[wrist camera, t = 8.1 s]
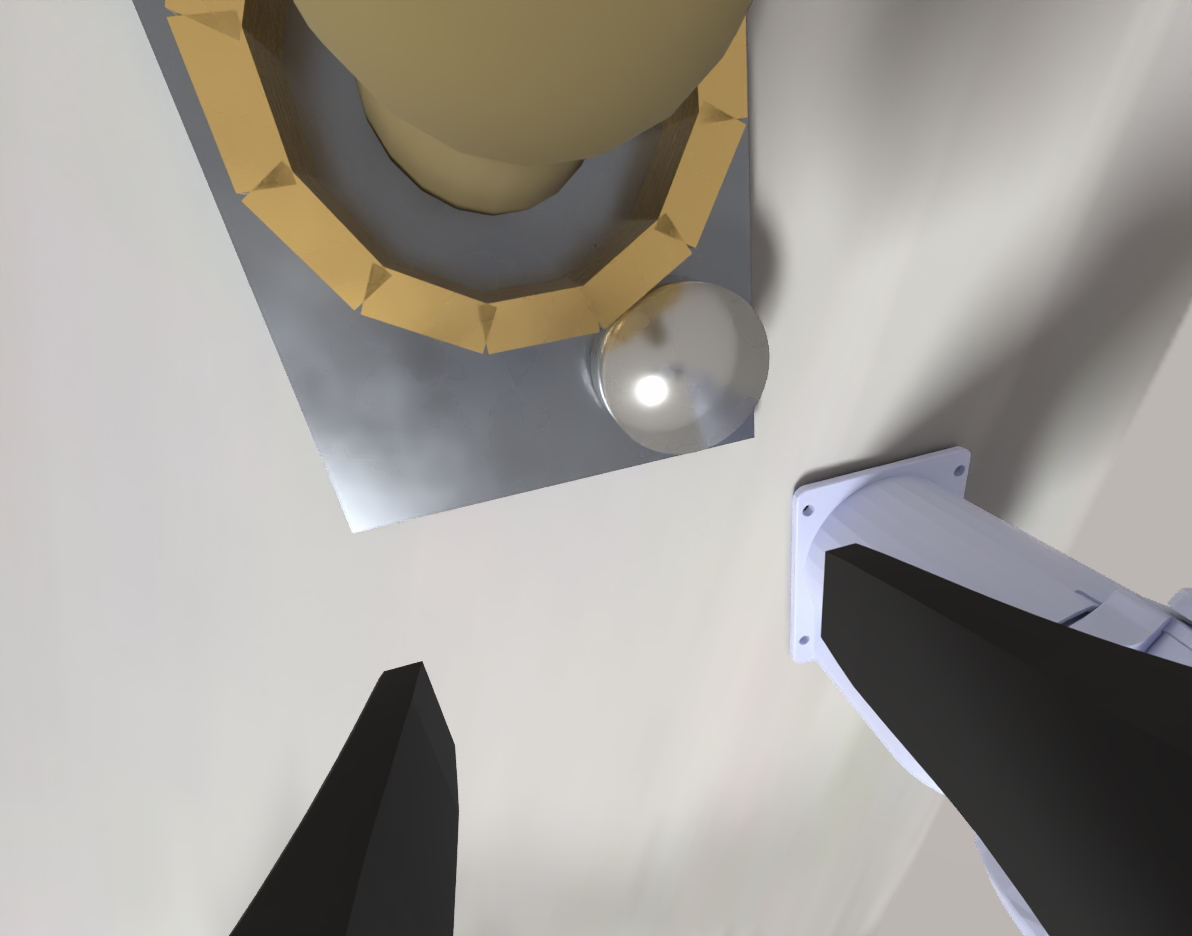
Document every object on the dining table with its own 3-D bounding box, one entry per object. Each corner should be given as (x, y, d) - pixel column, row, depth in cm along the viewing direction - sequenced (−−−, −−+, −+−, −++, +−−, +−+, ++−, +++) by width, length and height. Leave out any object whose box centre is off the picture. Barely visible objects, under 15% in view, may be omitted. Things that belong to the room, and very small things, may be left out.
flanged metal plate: (741, 427, 20) (792, 465, 17) (357, 517, 18) (336, 578, 15) (719, -299, 12) (806, -476, 9) (38, -277, 10) (-143, -492, 7)
